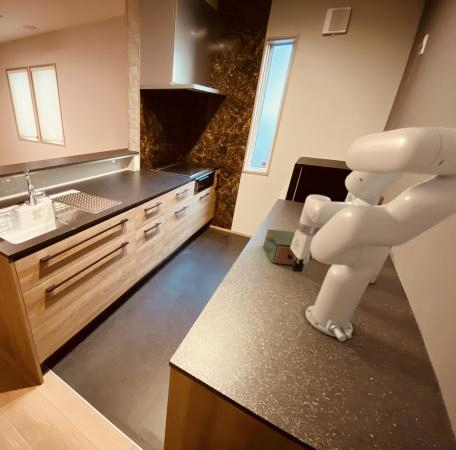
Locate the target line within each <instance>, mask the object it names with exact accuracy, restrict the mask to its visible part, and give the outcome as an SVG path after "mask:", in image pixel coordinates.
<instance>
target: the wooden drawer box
mask: <svg viewBox="0 0 456 450" xmlns="http://www.w3.org/2000/svg"><path fill="white" fill-rule="evenodd" d="M294 257H295V254H294V253H293V252H292V250H291V248H290V247H283V246H278V248H277V252H276V256H275V259H274V263H273V264H278V263H282V264H281V265H288V264H292V265H291V266H293V263H294V261H295V260H294Z"/></svg>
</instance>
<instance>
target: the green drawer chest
mask: <svg viewBox="0 0 456 450" xmlns="http://www.w3.org/2000/svg"><path fill="white" fill-rule="evenodd" d="M295 233H296V232H294V231H290V230H281V229H279V230H278V229H267V230H266V235H265V238H264V242H263V246H262V247H263V249H264V251H265V253H266V255H267V257H268V259H269V260H270V262H271V263H272V264H275V263H274V259H275V256H276V252H277V248H278V246H287V247H291V243H292V240H293V238H294V235H295ZM277 264H278V265H279V264H280V265H283V264H282V263H277ZM287 265H288V266H289V265H290V266H293V265H292V264H287Z"/></svg>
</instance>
